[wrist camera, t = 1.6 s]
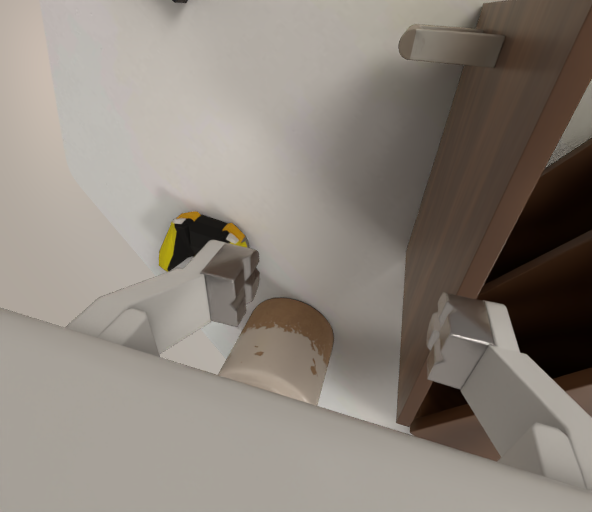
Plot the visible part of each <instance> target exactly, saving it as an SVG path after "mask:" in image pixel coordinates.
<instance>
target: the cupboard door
mask: <svg viewBox="0 0 592 512" xmlns="http://www.w3.org/2000/svg"><path fill="white" fill-rule="evenodd" d="M398 48H399V53H400V55H401V56H402V57H403V58H405V59H407V60H416V61H427V62H437V63H447V64H458V65H464V67H463V71H462V74H461V77H460V80H459V83H458V87H457V90H456V93H455V96H454V99H453V103H452V106H451V109H450V112H449V115H448V119H447V122H446V125H445V128H444V132H443V135H442V138H441V141H440V144H439V148H438V151H437V154H436V157H435V160H434V164H433V167H432V170H431V173H430V176H429V180H428V183H427V186H426V189H425V192H424V196H423V199H422V202H421V205H420V208H419V212H418V215H417V218H416V221H415V224H414V228H413V231H412V234H411V237H410V240H409V244H408V247H407V250H406V262H405V279H404V296H403V314H402V331H401V348H400V365H399V382H398V400H397V417H396V423H398V424H401V425H404V426H408V427H409V426H410V425H411V423H412V421H413V419H414V417H415V415H416V413H417V411H418V409H419V407H420V405H421V404H422V402H423V400H424V398H425V396H426V394H427V392H428V390H429V388H430V386H431V384H432V383H433V381H431V380H428V379H427V358H428V356H429V353H430V350H429V349H428V347H427V331H428V326H429V322H430V320H431V317H432V315H433V314H434V313H436V312H437V311H438V301H439V298H440V296H441V295H442V293H443V292H445V293H450V294H454V295H459V296H463V297H468V298H473V299H476V298H477V297H478V295H479V293H480V291H481V289H482V287H483V285H484V283H485V281H486V279H487V277H488V276H489V274H490V272H491V270H492V268H493V266H494V264H495V262H496V260H497V258H498V256H499V255H500V253H501V251H502V249H503V247H504V245H505V243H506V241H507V239H508V237H509V235H510V234H511V232H512V230H513V228H514V226H515V224H516V222H517V220H518V218H519V216H520V214H521V213H522V211H523V209H524V207H525V205H526V203H527V201H528V199H529V197H530V195H531V193H532V192H533V190H534V188H535V186H536V184H537V182H538V180H539V178H540V176H541V174H542V172H543V171H544V169H545V167H546V165H547V163H548V161H549V159H550V157H551V155H552V153H553V151H554V150H555V148H556V146H557V144H558V142H559V140H560V138H561V136H562V134H563V132H564V130H565V129H566V127H567V125H568V123H569V121H570V119H571V117H572V115H573V113H574V111H575V109H576V107H577V106H578V104H579V102H580V100H581V98H582V96H583V94H584V92H585V90H586V88H587V86H588V85H589V83H590V81H591V79H592V0H506V1H498V2H491V3H484V4H483V7H482V10H481V13H480V16H479V19H478V23H477V26H476V29H473V28H460V27H446V26H433V25H420V24H414V25H411V26H410V27H409V28H408V29H407V30H406V32H405V33H404V34H403V36H402V37H401V39H400V41H399V47H398Z"/></svg>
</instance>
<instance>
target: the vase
mask: <svg viewBox="0 0 592 512" xmlns="http://www.w3.org/2000/svg"><path fill="white" fill-rule="evenodd" d="M333 342H334V336H333V331H332V328H331V326H330V324H329V323H328V321H327V320H326V319H325V317H324V316H323V315H322V314H321V313H319V312H318V311H317V310H315V309H314V308H312V307H311V306H309V305H307V304H305V303H303V302H300V301H297V300H293V299H288V298H273V299H269V300H266V301H264V302H262V303H261V304H259V305H258V306H257V307H256V308H255V310H254V311H253V313H252V314H251V316H250V318H249V320H248V321H247V323H246V325H245V327H244V329H243V330H242V332H241V334H240V336H239V338H238V339H237V341H236V343H235V345H234V347H233V348H232V350H231V352H230V354H229V356H228V357H227V359H226V361H225V363H224V365H223V366H222V368H221V370H220V372H219V374H218V375H219V376H222V377H226V378H229V379H232V380H235V381H238V382H242V383H245V384H248V385H251V386H255V387H258V388H261V389H264V390H267V391H271V392H274V393H277V394H280V395H283V396H287V397H290V398H293V399H296V400H300V401H303V402H306V403H309V404H312V405H316V406H317V405H318V401H319V397H320V394H321V390H322V386H323V382H324V378H325V374H326V371H327V367H328V363H329V359H330V355H331V351H332V347H333Z"/></svg>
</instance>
